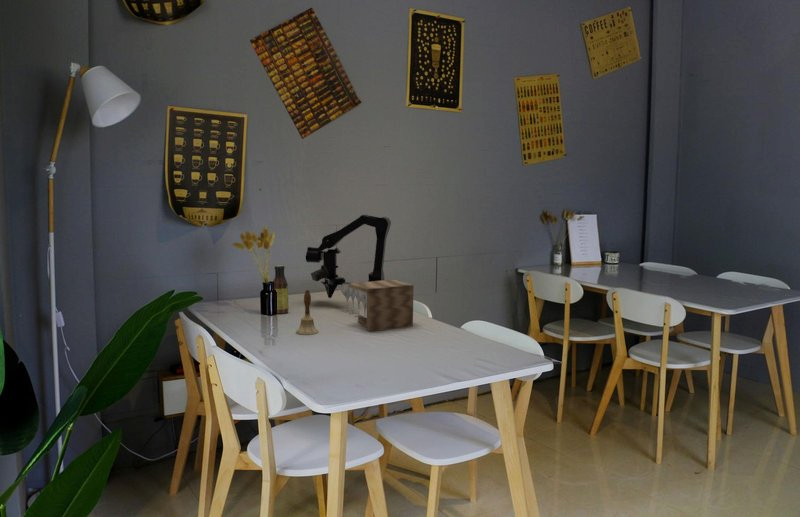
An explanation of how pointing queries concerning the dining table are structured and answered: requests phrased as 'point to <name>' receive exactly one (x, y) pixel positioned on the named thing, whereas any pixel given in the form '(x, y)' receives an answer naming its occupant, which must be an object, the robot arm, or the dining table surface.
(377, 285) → the walnut cubby
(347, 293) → the goblet set
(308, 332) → the hand bell
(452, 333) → the dining table surface
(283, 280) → the sauce bottle
